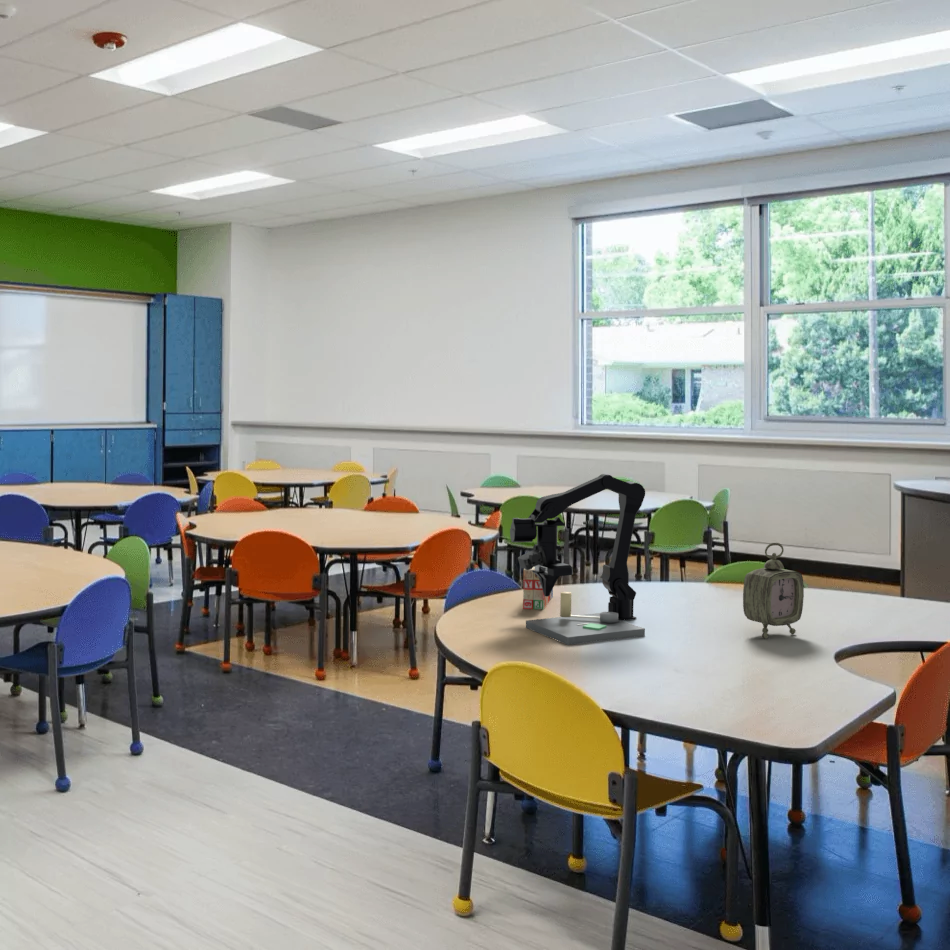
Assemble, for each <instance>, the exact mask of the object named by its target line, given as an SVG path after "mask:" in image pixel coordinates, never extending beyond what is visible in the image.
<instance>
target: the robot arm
mask: <svg viewBox="0 0 950 950" xmlns="http://www.w3.org/2000/svg"><path fill="white" fill-rule="evenodd" d="M606 490H609V491H610V492H613V493H615V494H618V507H619V518H618V522H617V528H616V533H615V539H614V544H613V549H612V554H611V558H610V562H609V563H608V564H603V565H602V573H601V576H600V579H602V581H601V583H602V585H603V587H604V588H605V589H606V590H607V591H608V594H609V595H610V596H609V602H608V604H607V612H616V613H618V620H621V621H631V620H637V617H636V616H634V604H635V603H634V600H635V598H636V596H637V592H636V591H635V590H634V589H633V587H631V586H630V584H629V579H630V578H629V577H630V576H629V568H628V560H629V559H628V558H629V554H630V549H631V543H632V538H633V532H634V526H635V522H636V515H637V514H638V512H639V511H640V509H641V507H642V505H643V503H644V499H645V496H646V490H645V488H644V486H643V485H642V484H640V483H638V482H634V481H624V480H621V479H619V478H617V477H614V476H612V475H611V474H606V473H602V474H600V475H599V476H596V477H594V478H592V479H590V480H588V481H586V482H583V483H581V484H579V485H576V486H574V487H573V488H571V489H568V490H566V491H563V492H559V493H553V494H549V495H545V496H541V497H540V498H538V499H537V500H536V503H535V508H534V509H533V511H532V512H531V513H530V515H528V517H527V518H519V517H512V518H511V519H512V520H511V521H512V522H511V524H510V528H509V537H510V540H511V543H532V542H533V541H534V540H536V544H534V545H533V546H532V550H531V551H529V552H526V553H524V554H522V555H520V556H518V557H517V560H518V563H519V567H520V569H523V570H524V569H526V570H530V569H532V568H533V567H535V571H532V572H533V573H535V574H536V575H537V576H538V577H539V580H540V583H541V586H542V589H543V593H544V596H546V597H547V596H549V595H550V593H551V591H552V589H554V586H555V585H556V583H557V581H558V579H559V578H560V577H565V576H566V577H567V576H572V575H573V573H574V571H573V570H574V568H573V567H572V566H571V564H568V563H561V560H560V559H558V550H561V545H560V544H558V527H564V526H565V525H566V524H565V522H564V521H563V520H561V518H560V517H558V516H559V515H561V514H562V513H563V512H565V511H566V510H567V509H568V508H569V507H571V506H573V505H575V504H577V503H578V502H581V501H582V500H586V499H587V498H590V497H592V496H594V495H596V494H598V493H600V492H602V491H603V492H604V491H606Z"/></svg>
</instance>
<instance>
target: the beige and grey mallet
mask: <svg viewBox="0 0 950 950" xmlns="http://www.w3.org/2000/svg"><path fill="white" fill-rule="evenodd" d="M559 606H560V609H559V610H560V613H559V617H575V618H593V619H600V621H601V622H606V623H615V622H618V613H616V612H608V611H601V612H599V613H600V617H599V616H581V615H582V614H577V615H575V614H572V592H571V591H562V592H560V604H559Z"/></svg>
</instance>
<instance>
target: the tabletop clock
mask: <svg viewBox="0 0 950 950" xmlns="http://www.w3.org/2000/svg"><path fill="white" fill-rule="evenodd" d="M772 546H778V547H780V548H781V552H780V553H779V554H777V553H776V552H773V553H772V555H769V554H768V552H767V551H768V550H769V548H771V547H772ZM783 554H784V545H782V544H781V543H779V542H771V543H769V544H768V545H767V546H766V547H765V549H764V555H765V556H766V558H768V559H769V560H767V561H766V562H765V563H764V565H763V567H761V568H757V569H754V570H751V571H750V572H747V573H746V574H745V576H744V579H743V591H742V593H743V594H742V606H743V607H742V608H743V613H744V616H745V617H746V619H747V620H750V621H751V622H757V623H761V624H762V627H763V628H762V629H761V632H762V633H761V638H762V639H766V640H767V639H768V637H769V634H768V632H769V628H768V627H769V626H772V627H773V626H774V627H778V626H782V627H783V626H787V628H788V629H789V634H790V635H794V634H796V633H797V632H796V631H797V630H796V628H795V627H792V626H791V624H795V623H797V622H798V621H799V620H801V617H802V614H803V609H804V608H803V607H804V597H805V596H804V595H805V594H804V593H805V592H804V590H805V589H804V588H805V587H804V579H803V577H804V576H803V573H801V572H799V571H795V570H790V569H785V567H784V564H783V562H782V561H781V560H779V558H780V557H781V556H782V555H783Z"/></svg>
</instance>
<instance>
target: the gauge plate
mask: <svg viewBox="0 0 950 950" xmlns="http://www.w3.org/2000/svg"><path fill="white" fill-rule="evenodd" d="M600 613H601V612H596V613H595V612H594V613H588V614H585V613H584V614H580V615H581V616H599V617H600ZM525 628H526V629H528V630H530V631H532V632H533V631H534V633H538V634H540V635H543V636H545V637H547V636H548V638H550V637H551V638H550V639H552V638H554V639H553V640H555V639H556V640H555V641H557V640H558V642H559V641H560V642H559V643H562V642H563V643H562V644H564V643H565V644H564V645H567V646H570V644H572V645H579V644H587V643H596V642H604V641H605V642H606V641H612V640H613V641H614V640H622V639H630V638H639V637H645V635H646V633H645V631H646V629H645V628H644V627H642V626H639V625H635V624H633V623H630V622H628V621H627V622H626V621H625V620H623V621H621V620H618V622H615V623H606V622H601V621H600V619H593V618H575V617H561V616H557V617H546V618H539V619H528V620H525Z"/></svg>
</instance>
